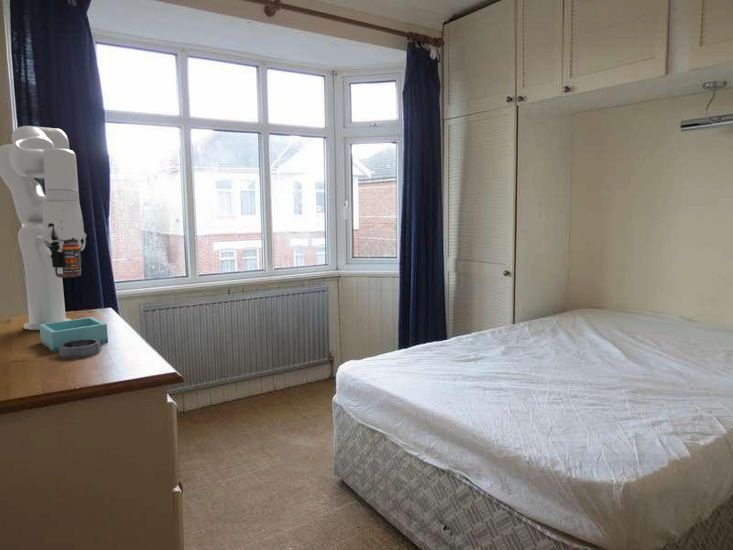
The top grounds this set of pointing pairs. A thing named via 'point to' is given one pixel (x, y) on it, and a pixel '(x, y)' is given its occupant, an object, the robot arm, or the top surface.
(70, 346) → the collar
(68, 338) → the bin
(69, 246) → the supplement bottle
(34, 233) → the robot arm
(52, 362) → the top surface
